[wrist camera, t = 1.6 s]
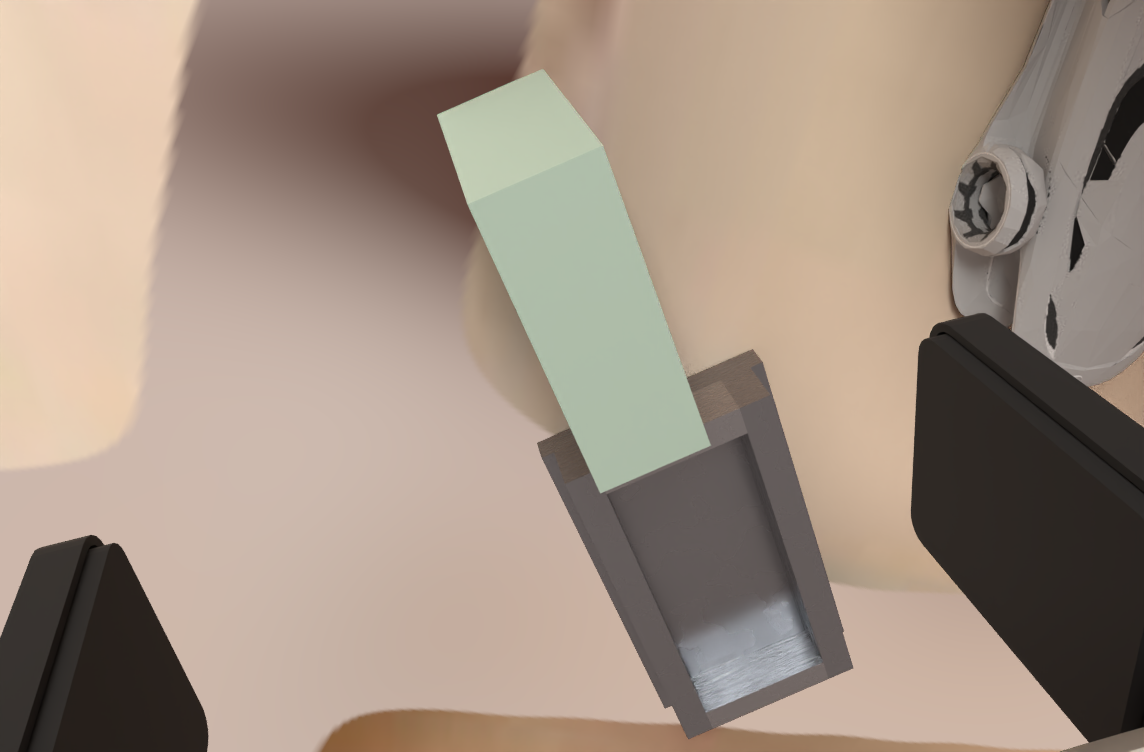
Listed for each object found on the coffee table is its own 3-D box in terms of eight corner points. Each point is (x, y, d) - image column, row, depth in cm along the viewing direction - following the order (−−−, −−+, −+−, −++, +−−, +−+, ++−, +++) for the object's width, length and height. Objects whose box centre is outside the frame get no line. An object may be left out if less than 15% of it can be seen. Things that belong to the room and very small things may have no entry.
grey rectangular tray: (537, 443, 38) (552, 489, 35) (752, 349, 38) (783, 389, 35) (658, 691, 46) (677, 743, 44) (834, 616, 46) (863, 663, 44)
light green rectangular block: (436, 114, 31) (467, 204, 24) (542, 68, 31) (602, 145, 24) (549, 363, 36) (600, 493, 29) (639, 323, 36) (710, 445, 29)
